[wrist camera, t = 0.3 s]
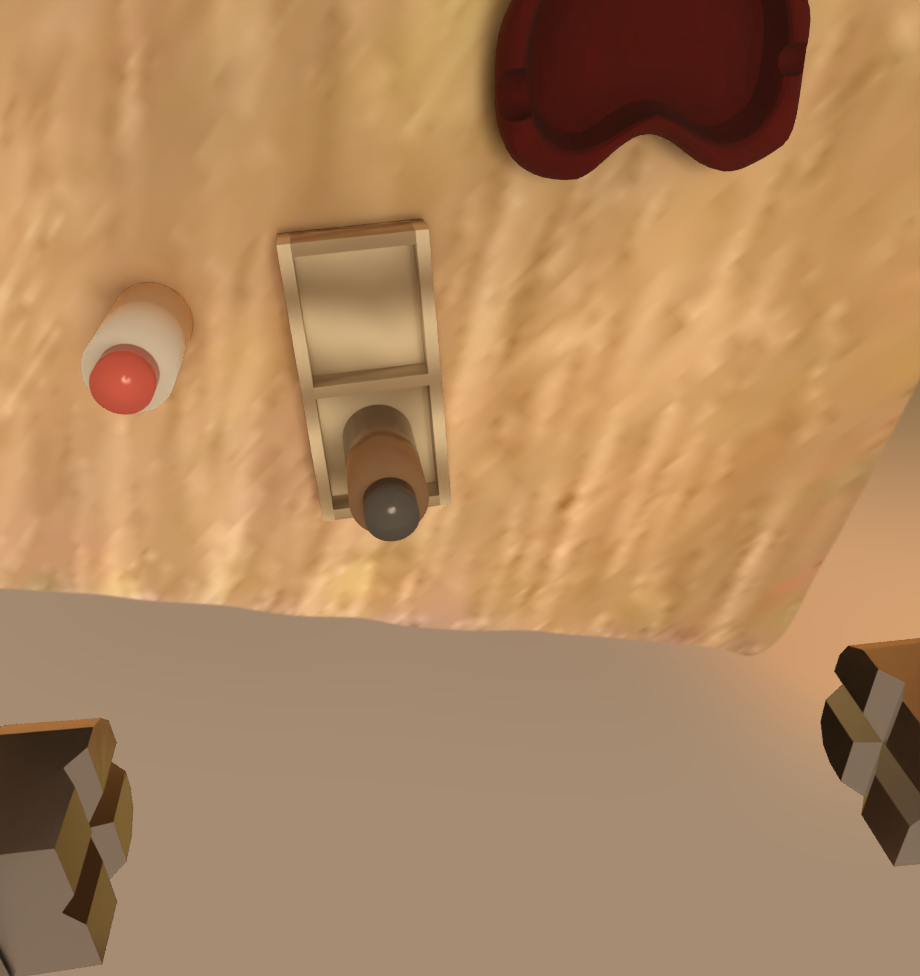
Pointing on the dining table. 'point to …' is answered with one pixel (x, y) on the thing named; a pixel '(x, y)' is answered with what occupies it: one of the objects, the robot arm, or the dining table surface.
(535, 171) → the ashtray
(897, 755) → the robot arm
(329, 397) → the caddy
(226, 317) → the dining table surface
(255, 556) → the dining table surface
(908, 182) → the dining table surface
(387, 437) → the brown soy bottle
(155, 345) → the white shaker
